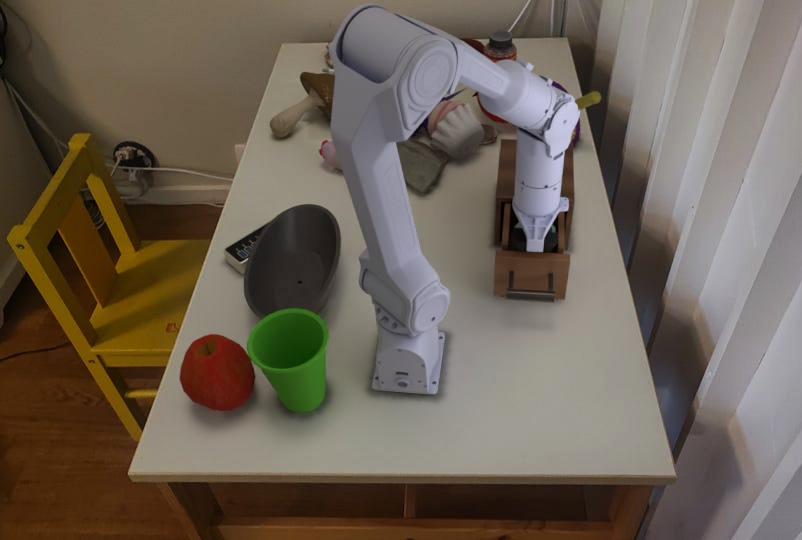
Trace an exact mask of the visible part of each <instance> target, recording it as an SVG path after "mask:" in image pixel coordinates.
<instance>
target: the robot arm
mask: <svg viewBox="0 0 802 540" xmlns="http://www.w3.org/2000/svg"><path fill="white" fill-rule="evenodd" d="M458 38H459V37H456V36H454V35H452V34H450V33H448V32H446V31H444V30H442V29H440V28H437V27H436V26H433V25H430V24H427V23H426V22H423V21H420V20H419V19H416V18H412V17H411V16H408V15H405V14H403V13H399V12H396V11H395V12H394V13H392V12H390V11H389V10H388V9H387V8H386V7H384V6H382V5H380V4H379V3H375V2H366V3H362V4H360V5H358V6H356V7H355V8H353V9H352V10H351V11H350V12H349V13H348V14H347V15H346V16H345V18H344V19H343V21H342V23H341V24H340V26H339V28H338V30H337V32H336V34H335V36H334V37H333V40H332V41H331V42H330V47H329V46H328V47H329V49H328V50H327V52H328V51H329V55H330V58H331V62H332V65H331V66H332V69H334V72H335V84H334V94H333V104H332V115H331V119H330V126H329V127H330V136H331V137H330V138H331V141H333V143H334V147H335V150H336V153H337V156H338V159H339V162H340V165H341V168H342V170H341V171H342V173H343V178H344V181H345V184H346V187H347V190H348V194H349V196H350V199H351V202H352V206H353V208H354V211H355V215H356V219H357V221H358V224H359V227H360V231H361V234H362V237H363V241H364V244H365V246H366V248H365V249H364V250H363V251H362V253H361V254H360V255H359V256H358V261H359V264H360V271H359V275H358V285H359V287H360V289H361V291H363V292H364V293H365V294H367V295H369V296H370V298H371V303H372V305H373V306H374V314H375V320H376V327H377V334H378V335H377V336H378V344H377V349H376V353H375V369H374V374H373V377H372V383H371V388H372V390H374V391H382V392H395V393H396V392H397V393H407V394H408V393H409V394H422V395H436V394H437V393H438V391H439V382H440V376H441V369H442V362H443V354H444V347H445V341H446V334H445V332H444V331H439V329H438V327H439V326H438V325H439V324H440V323H441V321H442V320H443V319H444V318H445V316H446V315H447V312H448V310H449V308H450V303H451V292H450V290H449V289H448V287H446V286H445V285H444V284H442V283H441V280H440V276H439V274H438V273H437V271H436V270H435V269H434V267H433V266H432V264H431V263H430V262H429V260H427V258H426V257H425V256H424V254H423V252H422V250H421V245H420V241H419V237H418V233H417V229H416V223H415V219H414V215H413V212H412V207H411V203H410V198H409V193H408V189H407V184H406V180H405V179H404V176H403V172H402V167H401V163H400V159H399V155H398V150H397V146H396V142H399V141H405V140H407V139H408V138H409V137H410V136H411V135H412V133H413V132H414V131H415V130H416V129H417V128H418V126H419V125H420V124H421V123H422V122H423V120H424V119H425V118H426V117H427V116H428V115H429V113H430V112H431V111H432V110H433V109H434V108H435V106H436V105H437V104H438V103H439V102H440V101H441V99H442V98H443V97H445V95H452V94H454V93H455V90H456V89H457V86H458V84H461V85H462V86H465V87H466V88H468V89H469V88H470V89H472V90H473V91H475V92H477V91H478V94H479V100H480V102H481V104H482V106H483V107H484V108H485V110H487V111H488V112H490V113H492V114H494V115H496V116H498V117H500V118H502V119H504V120H506V121H508V122H509V123H508V124H512V125H514V126H516V127H517V129H516V140H517V148H516V172H515V195H514V197H513V209H514V212H515V214H516V216H517V218H518V220H519V222H520V224H521V226H522V228H513V242H514V245H516V247H517V248H518V249H519V251H522V252H540V253H548V252H549V251H550V250H551V249H552V248H554V247H555V246H556V244H557V241H558V232H548V230H549V229H550V227H551V225H552V223H553V222H554V220H555V218H556V216H557V215H558V213H559V212H561V211H568V208H569V200H568V198H566V197H560V193H561V183H562V174H563V164H564V154H565V150H566V149H567V148H568V146H569V144H570V141H571V135H572V132H573V130H574V128H575V126H576V124H577V122H578V119H579V118H580V116H581V110H578V106H577V104H576V103H575V100H576V99H575V97H574V96H573V95H572V94H570V93H569V92H568V93H569V94H568V93H566V92H564V91H562V90H560V89H558V88H556V87H554V86H552V83H553V81H554V80H553V79H551V78H550V77H549V76H546V75H544V74H543V73H542V74H540V75H538V74H536V73H534V71H533V70H534V65H533V64H532V63H530V62H529V61H527V60H525V59H523V58H521V57H516V61H513V60H501V61H498V62H496V63H494V62H492V61H491V60H489V59H488V58H487V57H485V56H484V55H482V54H481V53H479V52H478V51H477V50H475V49H474V48H472V47H471V46H469V45H468V44H467V43H465V42H464V41H462V40H460V39H458ZM410 138H411V137H410Z"/></svg>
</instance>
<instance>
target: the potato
mask: <svg viewBox="0 0 802 540" xmlns="http://www.w3.org/2000/svg"><path fill="white" fill-rule="evenodd" d="M457 38H458V39H460V40H462V41H464V42H465V43H467V44H468V45H469V46H471V47H472V48H474V49H475V50H477V51H478V52H479V53H481V54H482V55H483V54H484V47H485V46H486V45H484V44H483V42H481V41H479V40H477V39H473V38H468V37H467V38H466V37H457Z"/></svg>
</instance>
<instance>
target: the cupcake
mask: <svg viewBox="0 0 802 540" xmlns="http://www.w3.org/2000/svg"><path fill="white" fill-rule="evenodd" d="M480 124H481V123H480V122H479V119H478V118H477V115H476V113H475V109H474V107H473V106H471V104H470V103H469V102H467V103H464V102H463V101H460V100H447V101H442V102H440V103H439V104H438V105H436V106H435V108H434V109H433V110H432V111H431V112H430V113H429V115H428V132H429V135H430V136H429V135H428V136H429V137H430V138H431V141H430V145H431V146H434V149H438V150H440V151H444V152H445V153H447V154H448V155H450V156H452V157H453V158H455V159H459V160H462V159H464V158H466V157H468V156H469V155H471V154H472V153H474V152H475V150H476V149H477V148H478V147H479V146H480V145H479V144H480V143H481V141H482V139H483V137H484V130H483V128H482V126H481V125H480Z"/></svg>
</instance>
